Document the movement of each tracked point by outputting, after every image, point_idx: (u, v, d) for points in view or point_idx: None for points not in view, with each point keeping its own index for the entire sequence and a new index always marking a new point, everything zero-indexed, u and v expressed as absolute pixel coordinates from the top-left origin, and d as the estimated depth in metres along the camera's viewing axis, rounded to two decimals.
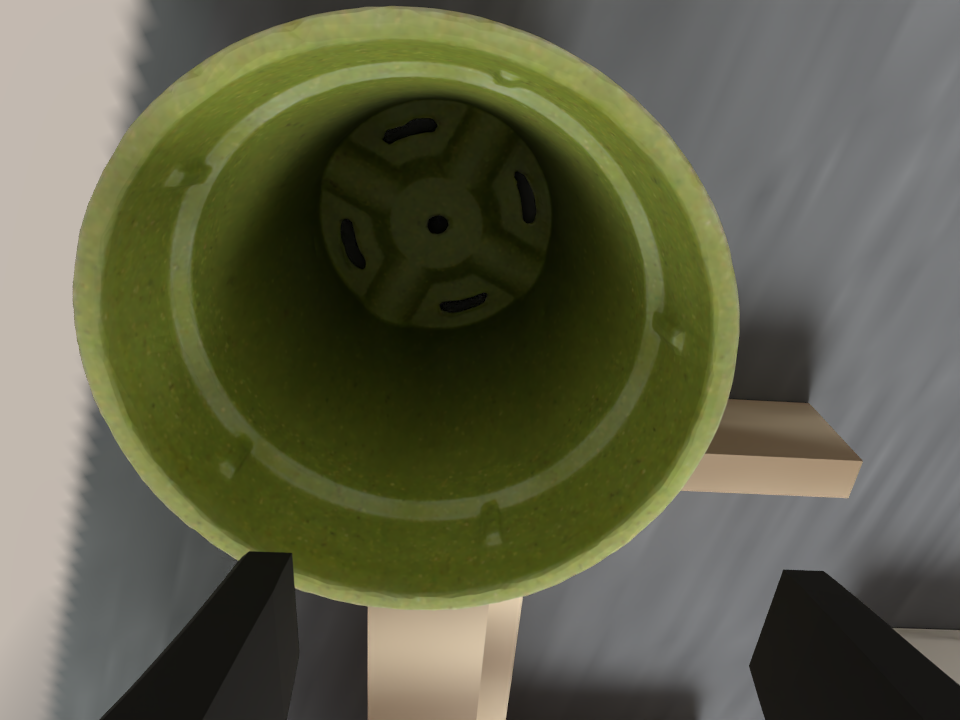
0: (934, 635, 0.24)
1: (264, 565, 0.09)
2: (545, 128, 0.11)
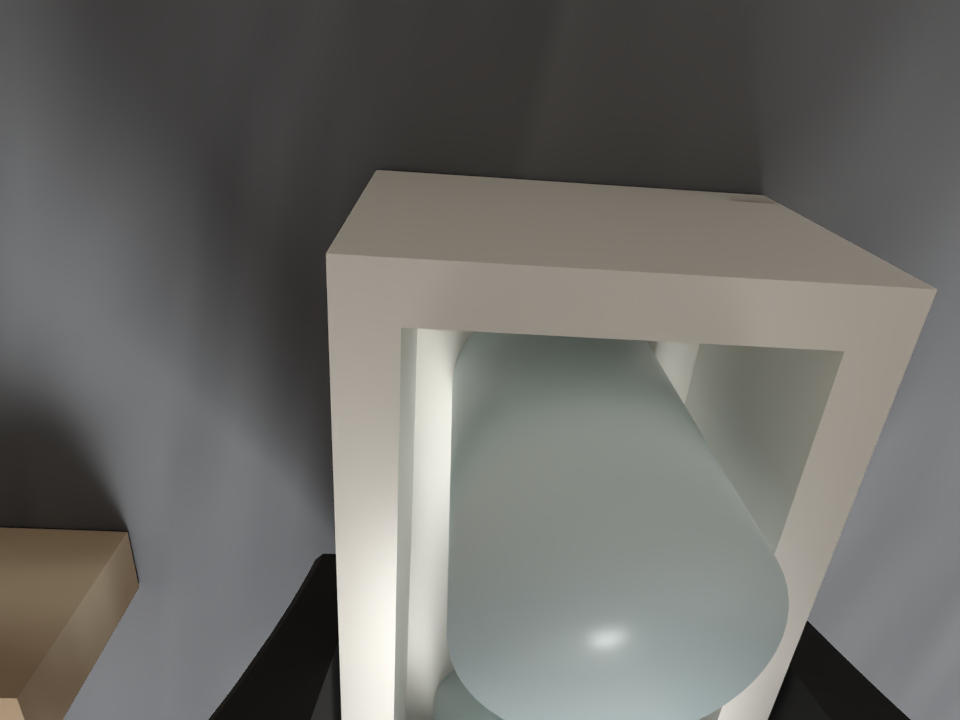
0: (644, 192, 0.08)
1: None
2: None
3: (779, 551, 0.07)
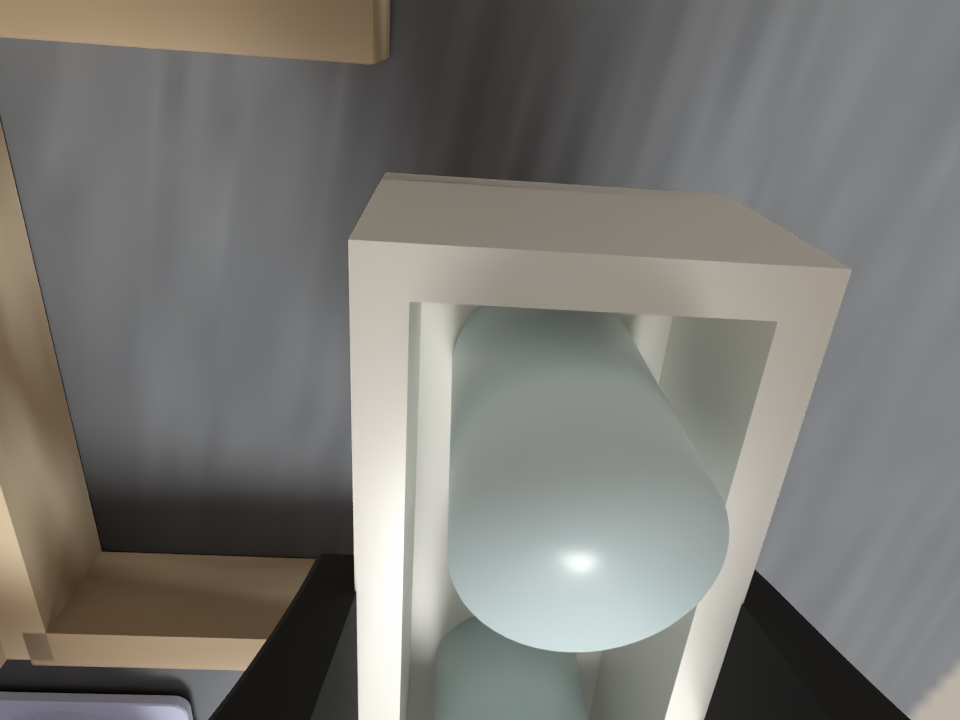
0: (619, 191, 0.09)
1: (340, 567, 0.09)
2: None
3: (731, 496, 0.08)
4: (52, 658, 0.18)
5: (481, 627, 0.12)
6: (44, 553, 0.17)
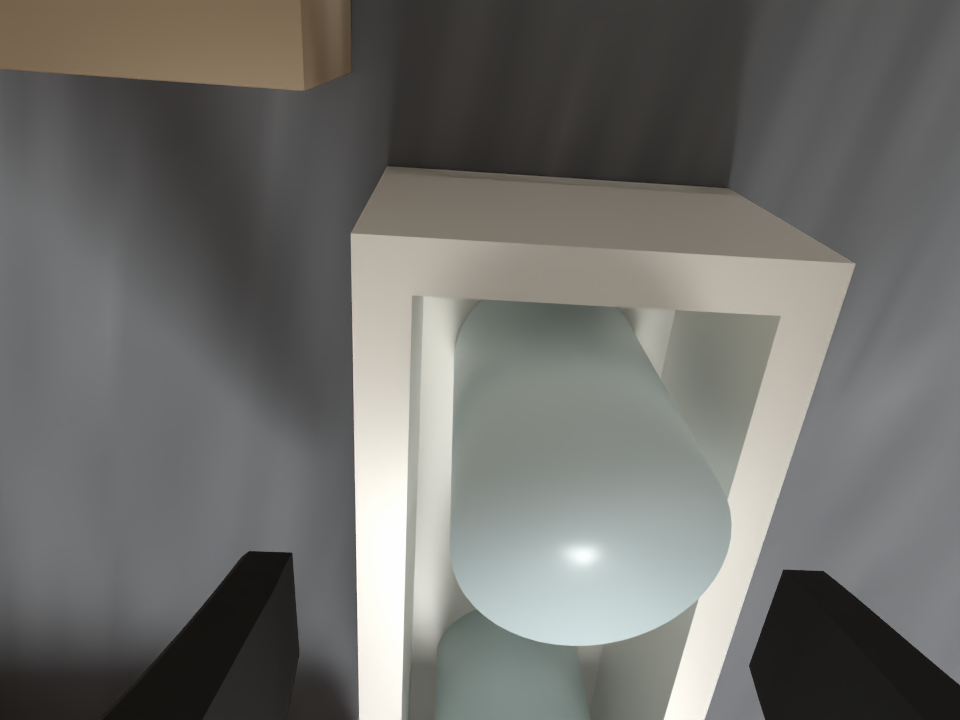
0: (622, 185, 0.09)
1: (263, 565, 0.09)
2: None
3: (733, 491, 0.08)
4: None
5: (482, 621, 0.12)
6: None
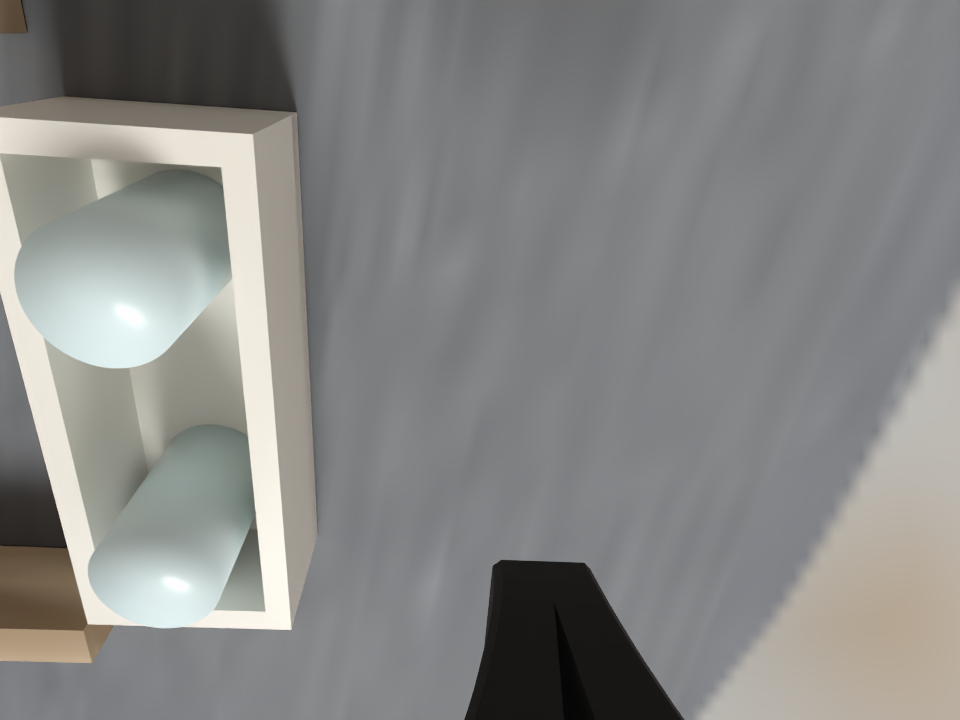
0: (215, 108, 0.14)
1: (525, 574, 0.09)
2: None
3: (234, 286, 0.13)
4: None
5: (186, 434, 0.17)
6: None
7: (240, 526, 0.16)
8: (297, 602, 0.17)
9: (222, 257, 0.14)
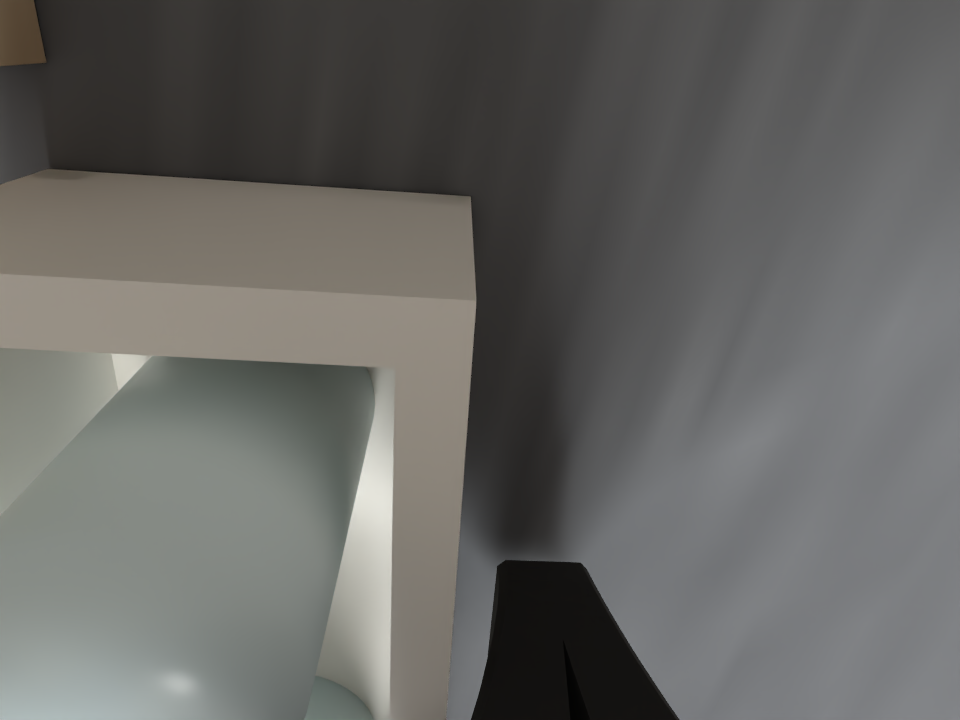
0: (327, 193, 0.08)
1: (530, 574, 0.09)
2: None
3: (394, 582, 0.06)
4: None
5: None
6: None
7: None
8: None
9: (352, 490, 0.07)
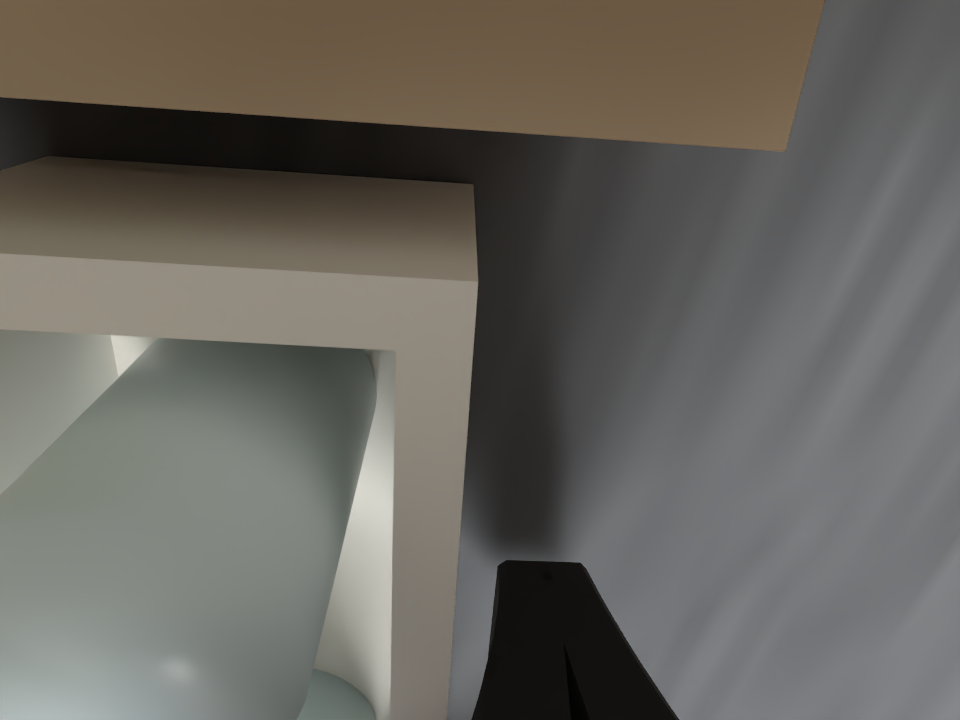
0: (330, 179, 0.08)
1: (531, 574, 0.09)
2: None
3: (395, 570, 0.06)
4: None
5: None
6: None
7: None
8: None
9: (353, 479, 0.07)
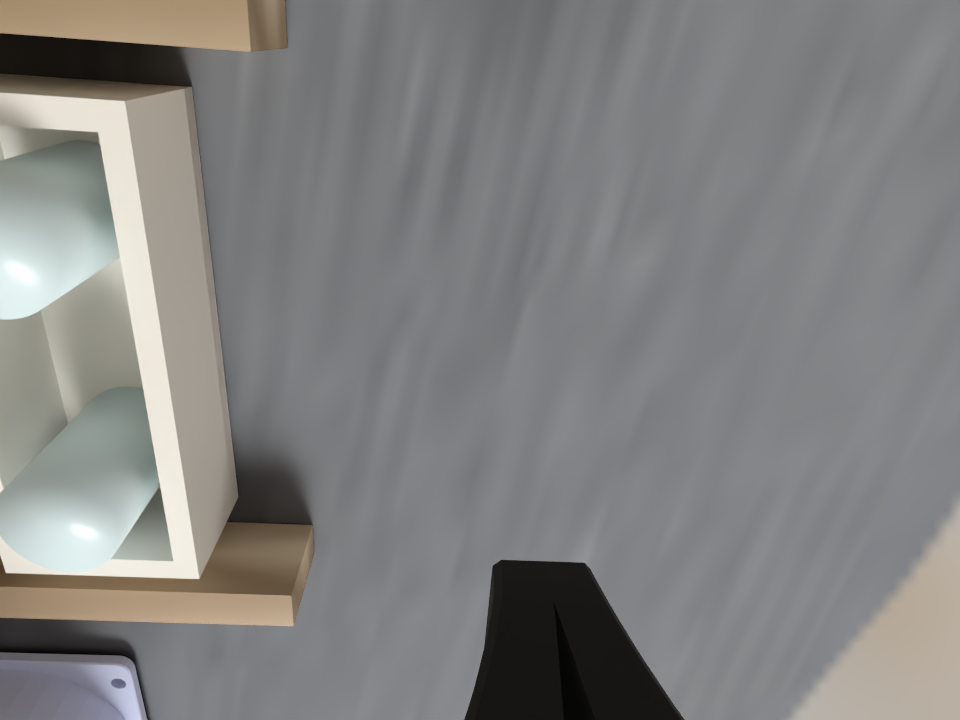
0: (113, 82, 0.15)
1: (525, 574, 0.09)
2: None
3: (118, 245, 0.14)
4: None
5: (102, 395, 0.18)
6: None
7: (146, 479, 0.17)
8: (208, 555, 0.18)
9: None
